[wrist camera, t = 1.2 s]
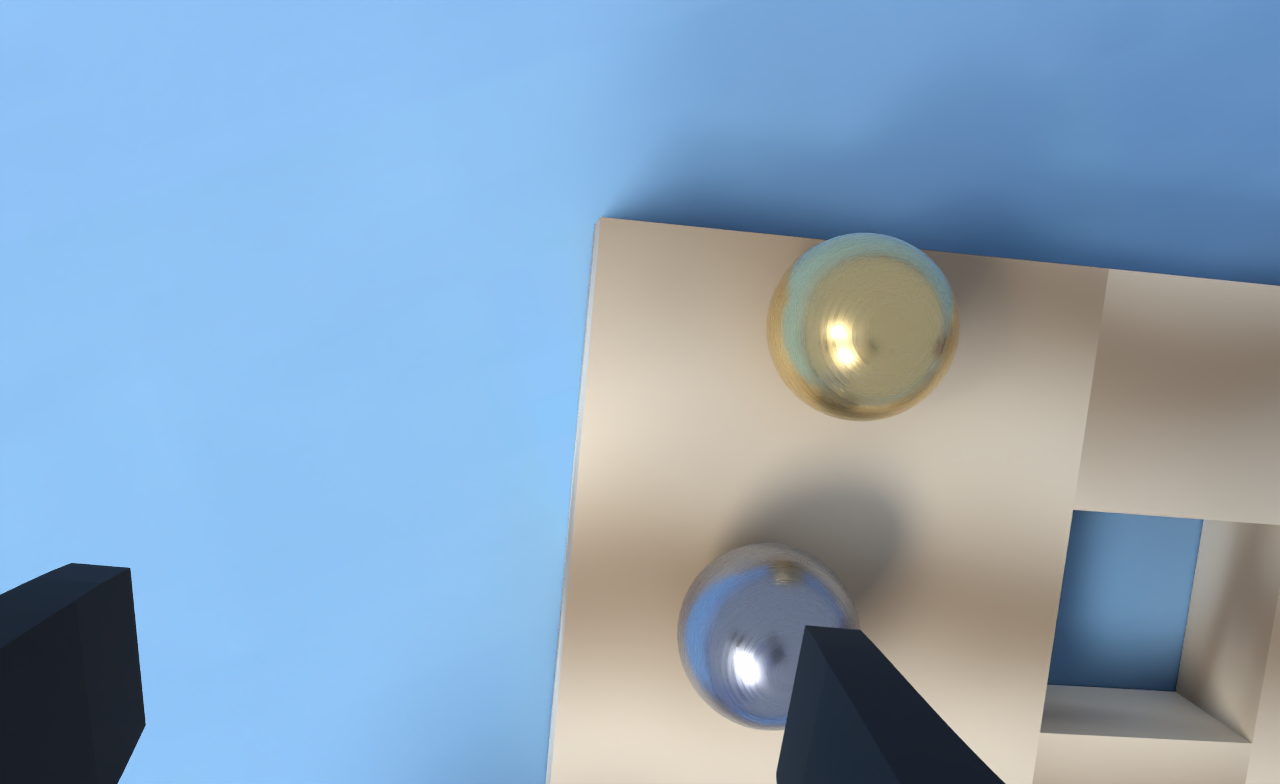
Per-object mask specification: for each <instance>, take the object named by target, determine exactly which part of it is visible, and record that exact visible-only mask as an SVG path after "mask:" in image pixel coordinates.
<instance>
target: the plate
mask: <svg viewBox="0 0 1280 784" xmlns="http://www.w3.org/2000/svg"><path fill="white" fill-rule="evenodd" d="M823 241H826V240H822V239H812V238H803V237H793V236H783V235H773V234H763V233H753V232H743V231H733V230H724V229H714V228H704V227H694V226H684V225H674V224H664V223H655V222H645V221H635V220H625V219H615V218H605V217H601V218H600V219H599V220H598V221H597V222H596V223H595V227H594V238H593V250H592V261H591V272H590V284H589V295H588V306H587V318H586V329H585V340H584V352H583V363H582V374H581V386H580V397H579V408H578V420H577V431H576V442H575V454H574V465H573V476H572V488H571V499H570V511H569V522H568V533H567V545H566V556H565V567H564V579H563V590H562V601H561V613H560V624H559V635H558V647H557V658H556V669H555V681H554V692H553V703H552V715H551V726H550V737H549V749H548V760H547V771H546V783H545V784H777V780H776V771H777V766H778V761H779V756H780V751H781V746H782V740H783V735H784V730H780V731H765V730H756V729H752V728H748V727H744V726H742V725H739V724H736V723H734V722H732V721H730V720H728V719H726V718H725V717H723V716H721V715H720V714H718V713H717V712H716V711H714V710H713V709H712V708H711V707H710V706H709V705H708V704H707V703H706V702H705V701H704V700H703V699H702V698H701V697H700V696H699V695H698V693H697V692H696V691H695V689H694V688H693V686H692V684H691V683H690V681H689V679H688V677H687V675H686V673H685V671H684V668H683V666H682V663H681V659H680V655H679V650H678V641H677V624H678V619H679V613H680V609H681V605H682V602H683V599H684V597H685V595H686V593H687V590H688V589H689V587H690V585H691V584H692V582H693V581H694V579H695V578H696V577H697V576H698V574H699V573H700V572H701V571H702V570H703V569H704V568H705V567H706V566H707V565H708V564H709V563H710V562H712V561H713V560H714V559H716V558H717V557H719V556H720V555H722V554H724V553H726V552H727V551H730V550H732V549H735V548H737V547H740V546H744V545H748V544H754V543H779V544H785V545H789V546H792V547H796V548H799V549H801V550H803V551H806V552H808V553H810V554H812V555H813V556H815V557H817V558H818V559H819V560H821V561H822V562H823V563H825V564H826V565H827V566H828V567H830V568H831V569H832V570H833V571H834V572H835V573H836V575H837V576H838V577H839V578H840V580H841V581H842V582H843V584H844V585H845V587H846V588H847V589H848V591H849V593H850V595H851V597H852V599H853V601H854V604H855V607H856V610H857V613H858V616H859V621H860V626H861V631H862V632H863V633H864V634H865V635H866V636H867V637H868V638H869V639H870V640H871V641H872V642H873V643H874V644H875V645H876V647H877V648H878V649H879V650H880V651H881V652H882V653H883V654H884V655H885V656H886V657H887V659H888V660H889V661H890V662H891V663H892V664H893V665H894V666H895V667H896V669H897V670H898V671H899V672H900V673H901V674H902V675H903V676H904V677H905V679H906V680H907V681H908V682H909V683H910V684H911V685H912V686H913V687H914V688H915V690H916V691H917V692H918V693H919V694H920V695H921V696H922V697H923V698H924V699H925V701H926V702H927V703H928V704H929V705H930V706H931V707H932V708H933V709H934V710H935V711H936V713H937V714H938V715H939V716H940V717H941V718H942V719H943V720H944V721H945V722H946V723H947V724H948V725H949V726H950V728H951V729H952V730H953V731H954V732H955V733H956V734H957V735H958V736H959V737H960V738H961V739H962V740H963V741H964V742H965V743H966V744H967V745H968V746H969V747H970V748H971V749H972V751H973V752H974V753H975V754H976V755H977V756H978V757H979V758H980V759H981V760H982V761H983V762H984V763H985V764H986V765H987V766H988V767H989V768H990V769H991V770H992V771H993V772H994V773H995V774H996V775H997V776H998V777H999V778H1000V779H1001V780H1002V781H1003V782H1004V783H1005V784H1280V286H1276V285H1266V284H1256V283H1246V282H1237V281H1227V280H1217V279H1207V278H1197V277H1187V276H1177V275H1168V274H1158V273H1148V272H1138V271H1128V270H1118V269H1108V268H1098V267H1089V266H1079V265H1069V264H1059V263H1049V262H1039V261H1029V260H1020V259H1010V258H1000V257H990V256H980V255H970V254H960V253H950V252H941V251H931V250H921V249H919V250H921V251H922V252H924V253H925V254H926V255H927V256H928V257H930V258H931V259H932V260H933V261H934V262H935V263H936V265H937V266H938V267H939V268H940V269H941V271H942V272H943V274H944V275H945V277H946V278H947V280H948V282H949V284H950V286H951V288H952V290H953V292H954V295H955V298H956V301H957V305H958V311H959V319H960V332H959V341H958V346H957V350H956V353H955V356H954V359H953V362H952V364H951V366H950V368H949V370H948V372H947V374H946V375H945V377H944V378H943V380H942V381H941V383H940V384H939V385H938V386H937V387H936V389H935V390H934V391H933V392H932V393H931V394H930V395H929V396H927V397H926V398H925V399H924V400H922V401H921V402H920V403H918V404H917V405H916V406H914V407H912V408H911V409H909V410H907V411H905V412H903V413H901V414H898V415H896V416H893V417H890V418H886V419H882V420H874V421H866V422H863V421H848V420H842V419H838V418H835V417H831V416H828V415H825V414H823V413H821V412H818V411H816V410H814V409H813V408H811V407H810V406H808V405H806V404H805V403H804V402H803V401H801V400H800V399H799V398H798V397H797V396H795V395H794V394H793V393H792V392H791V390H790V389H789V388H788V387H787V386H786V385H785V383H784V382H783V380H782V379H781V378H780V376H779V374H778V372H777V370H776V368H775V366H774V364H773V361H772V358H771V356H770V352H769V347H768V343H767V333H766V325H767V314H768V308H769V304H770V301H771V298H772V295H773V293H774V291H775V288H776V286H777V284H778V283H779V281H780V279H781V278H782V276H783V274H784V273H785V272H786V271H787V269H788V268H789V267H790V266H791V264H792V263H793V262H794V261H795V260H797V259H798V258H799V257H800V256H801V255H802V254H803V253H805V252H806V251H807V250H809V249H810V248H812V247H814V246H815V245H817V244H819V243H821V242H823ZM1073 510H1083V511H1097V512H1110V513H1124V514H1137V515H1150V516H1164V517H1177V518H1191V519H1204V521H1203V527H1202V533H1201V539H1200V545H1199V551H1198V557H1197V564H1196V570H1195V576H1194V582H1193V588H1192V594H1191V600H1190V606H1189V612H1188V618H1187V624H1186V630H1185V636H1184V642H1183V648H1182V654H1181V660H1180V667H1179V673H1178V679H1177V685H1176V691H1175V692H1174V691H1155V690H1137V689H1119V688H1101V687H1083V686H1065V685H1047V682H1048V675H1049V668H1050V662H1051V655H1052V648H1053V641H1054V635H1055V628H1056V621H1057V615H1058V608H1059V601H1060V594H1061V588H1062V581H1063V574H1064V568H1065V561H1066V554H1067V547H1068V541H1069V534H1070V527H1071V521H1072V514H1073Z"/></svg>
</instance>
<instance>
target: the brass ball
mask: <svg viewBox="0 0 1280 784" xmlns="http://www.w3.org/2000/svg"><path fill="white" fill-rule="evenodd" d="M959 332H960V319H959V311H958V305H957V301H956V298H955V295H954V292H953V290H952V288H951V286H950V284H949V282H948V280H947V278H946V277H945V275H944V274H943V272H942V271H941V269H940V268H939V267H938V266H937V265H936V263H935V262H934V261H933V260H932V259H931V258H930V257H928V256H927V255H926V254H925V253H924V252H922V251H921V250H919V249H918V248H916V247H915V246H913V245H911V244H909V243H907V242H905V241H903V240H901V239H898V238H895V237H892V236H889V235H884V234H878V233H861V232H860V233H850V234H845V235H841V236H837V237H834V238H831V239H828V240H826V241H823V242H821V243H819V244H817V245H815V246H814V247H812V248H810V249H809V250H807V251H806V252H805V253H803V254H802V255H801V256H800V257H799V258H798V259H797V260H795V261H794V262H793V263H792V264H791V266H790V267H789V268H788V269H787V271H786V272H785V273H784V274H783V276H782V278H781V279H780V281H779V283H778V284H777V286H776V288H775V291H774V293H773V295H772V298H771V301H770V304H769V308H768V314H767V325H766V333H767V343H768V347H769V352H770V356H771V358H772V361H773V364H774V366H775V368H776V370H777V372H778V374H779V376H780V378H781V379H782V380H783V382H784V383H785V385H786V386H787V387H788V388H789V389H790V390H791V392H792V393H793V394H794V395H795V396H797V397H798V398H799V399H800V400H801V401H803V402H804V403H805V404H806V405H808V406H810V407H811V408H813V409H814V410H816V411H818V412H821V413H823V414H825V415H828V416H831V417H835V418H838V419H842V420H848V421H863V422H866V421H874V420H882V419H886V418H890V417H893V416H896V415H898V414H901V413H903V412H905V411H907V410H909V409H911V408H912V407H914V406H916V405H917V404H918V403H920V402H921V401H922V400H924V399H925V398H926V397H927V396H929V395H930V394H931V393H932V392H933V391H934V390H935V389H936V387H937V386H938V385H939V384H940V383H941V381H942V380H943V378H944V377H945V375H946V374H947V372H948V370H949V368H950V366H951V364H952V362H953V359H954V356H955V353H956V350H957V346H958V341H959Z"/></svg>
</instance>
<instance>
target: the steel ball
mask: <svg viewBox="0 0 1280 784" xmlns="http://www.w3.org/2000/svg"><path fill="white" fill-rule="evenodd" d="M805 625H809V626H821V627H833V628H844V629H856V630H861V626H860V621H859V616H858V613H857V610H856V607H855V604H854V601H853V599H852V597H851V595H850V593H849V591H848V589H847V588H846V587H845V585H844V584H843V582H842V581H841V580H840V578H839V577H838V576H837V575H836V573H835V572H834V571H833V570H832V569H831V568H830V567H828V566H827V565H826V564H825V563H823V562H822V561H821V560H819V559H818V558H817V557H815V556H813V555H812V554H810V553H808V552H806V551H803V550H801V549H799V548H796V547H792V546H789V545H785V544H779V543H754V544H748V545H744V546H740V547H737V548H735V549H732V550H730V551H727V552H726V553H724V554H722V555H720V556H719V557H717V558H716V559H714V560H713V561H712V562H710V563H709V564H708V565H707V566H706V567H705V568H704V569H703V570H702V571H701V572H700V573H699V574H698V576H697V577H696V578H695V579H694V581H693V582H692V584H691V585H690V587H689V589H688V590H687V593H686V595H685V597H684V599H683V602H682V605H681V609H680V613H679V619H678V624H677V641H678V650H679V655H680V659H681V663H682V666H683V668H684V671H685V673H686V675H687V677H688V679H689V681H690V683H691V684H692V686H693V688H694V689H695V691H696V692H697V693H698V695H699V696H700V697H701V698H702V699H703V700H704V701H705V702H706V703H707V704H708V705H709V706H710V707H711V708H712V709H713V710H714V711H716V712H717V713H718V714H720V715H721V716H723V717H725V718H726V719H728V720H730V721H732V722H734V723H736V724H739V725H742V726H744V727H748V728H752V729H756V730H765V731H780V730H785V725H786V720H787V715H788V710H789V705H790V700H791V695H792V690H793V685H794V680H795V674H796V669H797V664H798V659H799V654H800V649H801V644H802V639H803V634H804V629H805Z"/></svg>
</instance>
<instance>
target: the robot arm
mask: <svg viewBox="0 0 1280 784" xmlns="http://www.w3.org/2000/svg"><path fill="white" fill-rule="evenodd" d="M145 725H146V724H145V714H144V704H143V693H142V683H141V673H140V663H139V653H138V643H137V632H136V622H135V612H134V602H133V592H132V581H131V571H130V568H124V567H112V566H101V565H89V564H77V563H70V564H68V565H65V566H63V567H60V568H58V569H55V570H53V571H50V572H48V573H46V574H44V575H41V576H39V577H37V578H35V579H33V580H30V581H28V582H26V583H24V584H22V585H20V586H18V587H16V588H14V589H11V590H9V591H7V592H5V593H3V594H1V595H0V784H117V783H118V781H119V779H120V778H121V776H122V774H123V772H124V769H125V767H126V765H127V763H128V761H129V759H130V757H131V755H132V753H133V750H134V748H135V746H136V744H137V742H138V740H139V738H140V736H141V734H142V732H143V729H144V727H145ZM776 780H777V784H1005V783H1004V782H1003V781H1002V780H1001V779H1000V778H999V777H998V776H997V775H996V774H995V773H994V772H993V771H992V770H991V769H990V768H989V767H988V766H987V765H986V764H985V763H984V762H983V761H982V760H981V759H980V758H979V757H978V756H977V755H976V754H975V753H974V752H973V751H972V749H971V748H970V747H969V746H968V745H967V744H966V743H965V742H964V741H963V740H962V739H961V738H960V737H959V736H958V735H957V734H956V733H955V732H954V731H953V730H952V729H951V728H950V726H949V725H948V724H947V723H946V722H945V721H944V720H943V719H942V718H941V717H940V716H939V715H938V714H937V713H936V711H935V710H934V709H933V708H932V707H931V706H930V705H929V704H928V703H927V702H926V701H925V699H924V698H923V697H922V696H921V695H920V694H919V693H918V692H917V691H916V690H915V688H914V687H913V686H912V685H911V684H910V683H909V682H908V681H907V680H906V679H905V677H904V676H903V675H902V674H901V673H900V672H899V671H898V670H897V669H896V667H895V666H894V665H893V664H892V663H891V662H890V661H889V660H888V659H887V657H886V656H885V655H884V654H883V653H882V652H881V651H880V650H879V649H878V648H877V647H876V645H875V644H874V643H873V642H872V641H871V640H870V639H869V638H868V637H867V636H866V635H865V634H864V633H863V632H862V631H861V630H856V629H844V628H833V627H821V626H809V625H805V629H804V634H803V639H802V644H801V649H800V654H799V659H798V664H797V669H796V674H795V680H794V685H793V690H792V695H791V700H790V705H789V710H788V715H787V720H786V725H785V730H784V735H783V740H782V746H781V751H780V756H779V761H778V766H777V771H776Z"/></svg>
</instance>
